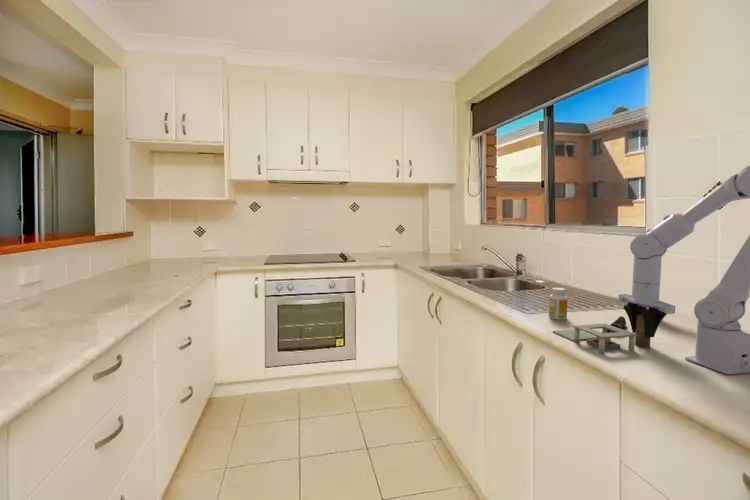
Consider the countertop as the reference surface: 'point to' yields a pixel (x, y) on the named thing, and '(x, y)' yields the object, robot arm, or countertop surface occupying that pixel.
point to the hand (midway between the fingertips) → (643, 334)
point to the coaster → (570, 335)
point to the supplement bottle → (558, 304)
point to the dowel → (641, 333)
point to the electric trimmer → (618, 324)
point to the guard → (604, 336)
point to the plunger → (607, 340)
